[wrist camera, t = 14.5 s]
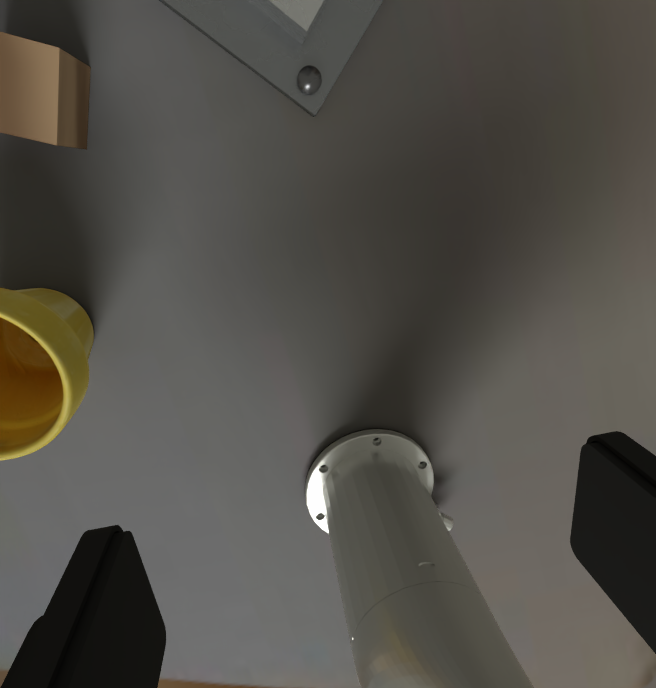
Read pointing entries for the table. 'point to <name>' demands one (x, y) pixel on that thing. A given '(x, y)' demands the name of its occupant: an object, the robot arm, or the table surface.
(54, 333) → the plant pot
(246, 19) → the square metal socket
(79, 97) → the wooden cube
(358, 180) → the table surface
